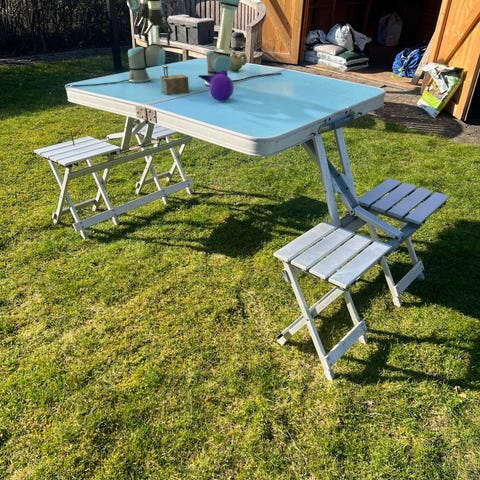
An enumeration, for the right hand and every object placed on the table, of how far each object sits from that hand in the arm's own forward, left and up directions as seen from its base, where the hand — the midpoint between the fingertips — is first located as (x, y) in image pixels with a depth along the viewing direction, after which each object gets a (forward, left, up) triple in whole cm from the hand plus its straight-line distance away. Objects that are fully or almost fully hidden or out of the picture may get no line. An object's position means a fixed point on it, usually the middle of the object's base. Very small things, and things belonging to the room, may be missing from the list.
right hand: (158, 46), depth 287 cm
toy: (-18, +38, -29) cm, 51 cm away
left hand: (-8, -26, +2) cm, 27 cm away
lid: (-8, +2, -20) cm, 22 cm away
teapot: (-85, -31, -29) cm, 95 cm away
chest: (-9, +2, -29) cm, 31 cm away
